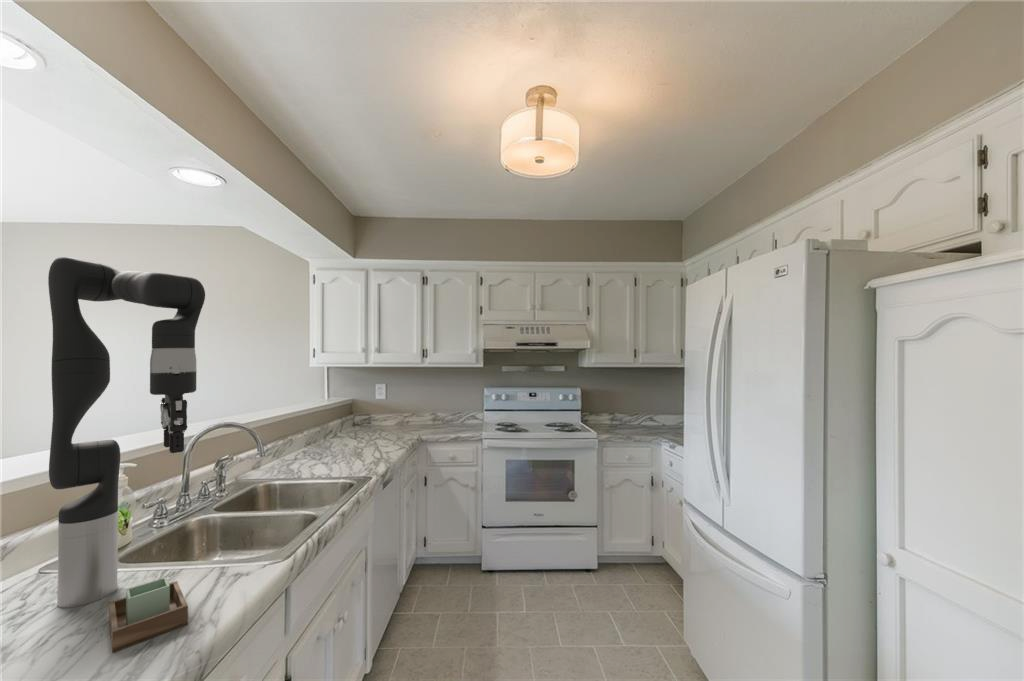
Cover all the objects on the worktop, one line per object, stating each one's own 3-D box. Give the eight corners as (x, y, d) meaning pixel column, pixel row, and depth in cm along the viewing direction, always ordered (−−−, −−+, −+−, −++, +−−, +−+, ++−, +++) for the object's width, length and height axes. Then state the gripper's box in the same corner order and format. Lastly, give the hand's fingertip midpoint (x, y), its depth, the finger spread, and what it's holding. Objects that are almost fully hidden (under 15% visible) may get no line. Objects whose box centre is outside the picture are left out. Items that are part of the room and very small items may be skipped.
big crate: (109, 620, 82) (109, 602, 82) (176, 597, 90) (176, 580, 90) (112, 652, 73) (112, 632, 73) (187, 624, 80) (187, 605, 80)
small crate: (125, 621, 81) (126, 589, 81) (166, 607, 85) (166, 576, 85) (127, 632, 77) (127, 599, 78) (169, 617, 82) (169, 585, 82)
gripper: (146, 371, 90) (145, 448, 89) (154, 371, 80) (153, 458, 79) (190, 369, 95) (190, 442, 94) (202, 369, 85) (202, 450, 84)
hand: (173, 449), depth 87 cm, fingers open, 8 cm apart
